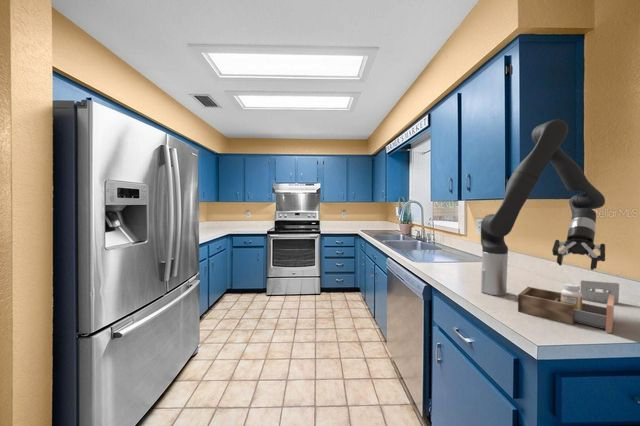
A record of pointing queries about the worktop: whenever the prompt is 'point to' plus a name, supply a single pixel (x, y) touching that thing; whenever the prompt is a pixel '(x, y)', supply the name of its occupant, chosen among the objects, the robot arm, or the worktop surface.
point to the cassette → (599, 296)
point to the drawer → (595, 314)
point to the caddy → (545, 305)
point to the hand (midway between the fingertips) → (575, 266)
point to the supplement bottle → (572, 295)
